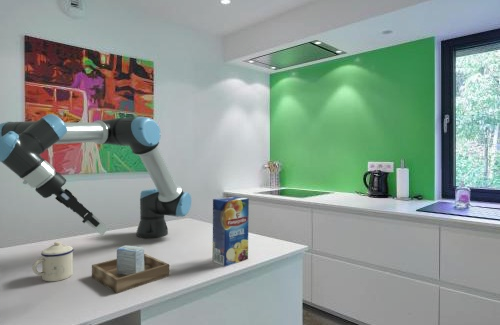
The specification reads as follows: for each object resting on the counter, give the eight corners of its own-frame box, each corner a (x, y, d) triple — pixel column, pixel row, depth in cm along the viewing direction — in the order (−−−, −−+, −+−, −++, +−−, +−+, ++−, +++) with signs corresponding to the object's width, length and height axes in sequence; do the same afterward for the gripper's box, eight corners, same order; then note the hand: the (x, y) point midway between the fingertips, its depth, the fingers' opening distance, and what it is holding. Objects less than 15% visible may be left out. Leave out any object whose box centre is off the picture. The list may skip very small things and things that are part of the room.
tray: (91, 276, 105) (91, 264, 105) (141, 263, 118) (141, 252, 118) (116, 293, 93) (116, 279, 93) (169, 276, 106) (169, 264, 106)
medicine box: (144, 272, 106) (144, 247, 106) (135, 277, 102) (135, 251, 102) (125, 269, 109) (125, 244, 109) (116, 274, 105) (116, 248, 105)
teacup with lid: (63, 269, 111) (63, 236, 111) (79, 274, 107) (79, 240, 106) (25, 281, 101) (25, 245, 100) (41, 287, 96) (40, 250, 96)
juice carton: (224, 266, 116) (225, 201, 115) (212, 261, 121) (212, 199, 120) (248, 259, 124) (248, 198, 123) (235, 254, 130) (236, 196, 129)
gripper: (29, 184, 98) (80, 228, 108) (39, 194, 79) (100, 246, 89) (50, 168, 101) (98, 211, 111) (64, 173, 82) (120, 225, 92)
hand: (99, 227), depth 100 cm, fingers open, 13 cm apart
